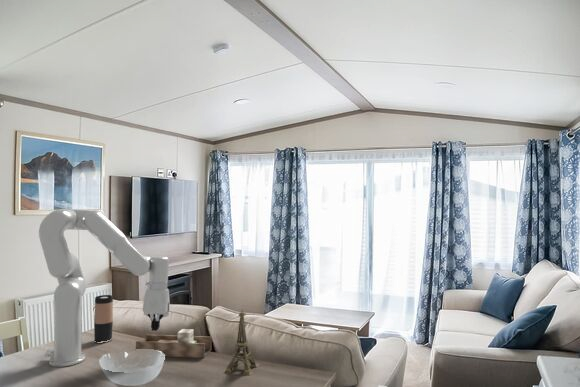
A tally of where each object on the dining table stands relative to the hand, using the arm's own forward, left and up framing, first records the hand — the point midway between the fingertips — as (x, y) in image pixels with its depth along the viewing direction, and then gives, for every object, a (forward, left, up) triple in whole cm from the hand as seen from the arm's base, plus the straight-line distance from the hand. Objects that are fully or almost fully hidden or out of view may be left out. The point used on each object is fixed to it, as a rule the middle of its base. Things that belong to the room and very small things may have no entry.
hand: (155, 329), depth 170 cm
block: (+13, +1, -5) cm, 14 cm away
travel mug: (-30, +12, -9) cm, 33 cm away
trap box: (+8, +1, -9) cm, 12 cm away
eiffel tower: (+40, -13, -10) cm, 44 cm away
